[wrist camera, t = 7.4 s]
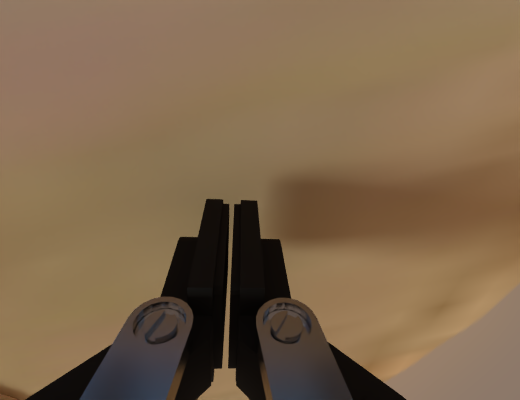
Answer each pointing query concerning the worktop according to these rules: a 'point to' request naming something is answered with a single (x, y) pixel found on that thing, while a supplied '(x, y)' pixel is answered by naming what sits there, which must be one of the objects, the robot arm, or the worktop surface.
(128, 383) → the robot arm
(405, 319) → the worktop surface
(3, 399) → the wooden food tray
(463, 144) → the worktop surface
